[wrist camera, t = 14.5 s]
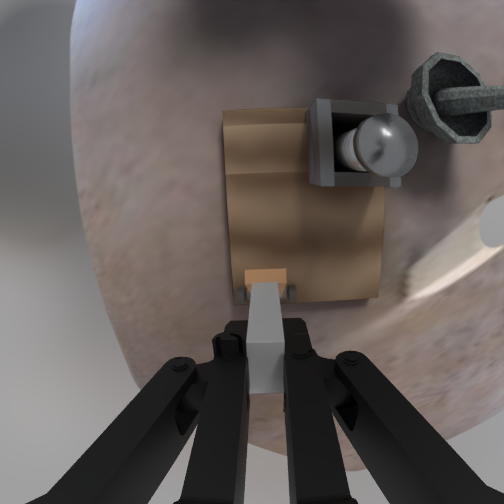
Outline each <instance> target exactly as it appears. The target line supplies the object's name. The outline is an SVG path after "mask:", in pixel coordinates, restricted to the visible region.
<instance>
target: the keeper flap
mask: <svg viewBox="0 0 504 504" xmlns="http://www.w3.org/2000/svg"><path fill="white" fill-rule="evenodd" d="M260 282H277V283H278V291H279V299H284V298H287V292H286V288H285V286H286V283H287V280H286V268H284V269H256V270H245V285H246V287H247V300H250V298H251V288H252V283H260Z"/></svg>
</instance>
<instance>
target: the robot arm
mask: <svg viewBox="0 0 504 504" xmlns="http://www.w3.org/2000/svg"><path fill="white" fill-rule="evenodd" d="M212 343H213V350H214V360H212V361H210V362H207V363H202V364H196V363H195V361H194V360H193V359H191V358H189V357H175V358H173V359H170V360H169V361H167V362H166V363H165V364H164V365H163V366H162V368H161V369H160V370H159V371H158V372H157V373H156V374H155V375H154V376H153V378H152V379H151V380H150V381H149V382H148V383H147V384H146V385H145V387H144V388H143V389H142V390H141V391H140V392H139V393H138V394H137V396H135V398H134V399H133V400H132V401H131V402H130V403H129V404H128V405H127V406H126V408H125V409H124V410H123V411H122V412H121V413H120V414H119V415H118V416H117V418H116V419H115V420H114V421H113V422H112V423H111V424H110V425H109V426H108V427H107V429H106V430H105V431H104V432H103V433H102V434H101V435H100V436H99V437H98V438H97V440H96V441H95V442H94V443H93V444H92V445H91V446H90V447H89V448H88V449H87V450H86V452H85V453H84V454H83V455H82V456H81V457H80V458H79V459H78V460H77V462H76V463H74V465H73V466H72V467H71V468H70V469H69V470H68V471H67V472H66V473H65V474H64V476H63V477H62V478H61V479H60V480H59V481H58V482H57V483H56V484H55V485H54V486H53V487H52V488H51V490H50V491H49V492H48V493H47V494H45V495H43V496H41V497H39V498H37V499H34V500H32V501H30V502H28V503H26V504H148V502H149V501H150V499H151V497H152V496H153V494H154V493H155V491H156V490H157V488H158V487H159V485H160V484H161V482H162V481H163V479H164V477H165V476H166V474H167V473H168V471H169V470H170V468H171V466H172V465H173V463H174V462H175V460H176V459H177V457H178V455H179V454H180V452H181V450H182V449H183V447H184V446H185V444H186V442H187V441H188V439H189V437H190V436H191V434H192V433H193V431H194V429H195V428H196V426H197V430H196V434H195V438H194V443H193V446H192V451H191V455H190V459H189V463H188V468H187V473H186V476H185V481H184V485H183V489H182V494H181V497H180V499H179V501H176V502H174V503H173V504H243V503H244V490H245V474H246V458H247V442H248V425H249V408H250V397H249V391H250V394H251V393H284V412H285V425H286V441H287V458H288V476H289V495H290V504H358V502H357V501H356V499H354V498H352V497H351V495H350V491H349V486H348V482H347V477H346V472H345V468H344V463H343V459H342V454H341V450H340V445H339V441H338V437H337V432H336V428H335V424H334V420H333V415H334V417H335V418H336V420H337V422H338V423H339V425H340V426H341V428H342V430H343V431H344V433H345V434H346V436H347V437H348V439H349V441H350V442H351V444H352V445H353V447H354V449H355V450H356V452H357V453H358V455H359V457H360V458H361V460H362V461H363V463H364V464H365V466H366V468H367V469H368V471H369V472H370V474H371V475H372V477H373V478H374V480H375V482H376V483H377V485H378V486H379V488H380V489H381V491H382V492H383V494H384V496H385V497H386V499H387V500H388V502H389V503H390V504H504V493H501V492H499V491H497V490H495V489H493V488H491V487H489V486H487V485H486V484H485V483H484V482H483V481H482V480H481V479H480V478H479V477H478V476H477V474H476V473H475V472H474V471H473V470H472V469H471V468H470V467H469V466H468V465H467V464H466V462H465V461H464V460H463V459H462V458H461V457H460V456H459V455H458V454H457V453H456V452H455V451H454V449H452V447H451V446H450V445H449V444H448V443H447V442H446V441H445V440H444V439H443V438H442V437H441V435H440V434H439V433H438V432H437V431H436V430H435V429H434V428H433V427H432V426H431V425H430V424H429V423H428V421H427V420H426V419H425V418H424V417H423V416H422V415H421V414H420V413H419V412H418V411H417V410H416V409H415V408H414V407H413V405H412V404H411V403H410V402H409V401H408V400H407V399H406V398H405V397H404V396H403V395H402V394H401V393H400V392H399V391H398V390H397V388H396V387H395V386H394V385H393V384H392V383H391V382H390V381H389V380H388V379H387V378H386V377H385V376H384V375H383V374H382V373H381V372H380V371H379V369H378V368H377V367H376V366H375V365H374V364H373V363H372V362H371V361H370V360H369V359H368V358H367V357H366V356H365V355H364V354H362V353H360V352H357V351H344V352H342V353H339V354H338V355H337V356H336V359H335V360H334V359H327V358H323V357H320V356H318V355H317V353H316V351H315V350H314V349H313V348H312V346H311V342H310V338H309V334H308V330H307V326H306V322H304V321H303V320H302V319H301V318H284V319H282V315H281V307H280V299H279V291H278V283H277V282H260V283H252V288H251V298H250V308H249V319H248V320H243V321H230V322H229V323H228V324H227V325H226V326H225V330H224V332H223V333H220V334H217V335H216V336H214V338H213V339H212ZM332 413H333V415H332ZM197 424H198V425H197Z"/></svg>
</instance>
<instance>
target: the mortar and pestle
mask: <svg viewBox="0 0 504 504" xmlns="http://www.w3.org/2000/svg"><path fill="white" fill-rule="evenodd" d="M406 107H407V109H408V111H409V113H410V115H411V117H412V119H413V121H414V122H415V123H416V124H417V125H419V126H420V127H421V128H423V129H424V130H425V131H431V132H432V133H433V134H434V135H436V136H437V137H438V138H439V139H440V140H442V141H443V142H447V143H469V144H473V143H479V142H480V141H481V140H482V139H483V137H484V136H485V135H486V133H487V132H488V131H489V129H490V128H491V111H493V110H501V109H504V86H485V85H484V83H483V81H482V79H481V77H480V75H479V74H478V73H477V72H476V71H475V70H474V69H473V68H472V67H471V66H470V65H469V64H468V63H466V62H465V61H464V60H463V59H462V58H461V57H460V56H456V55H450V54H445V53H439V52H437V53H436V54H434V55H432V56H431V57H430V58H429V59H428V60H426V61H425V62H424V63H423V64H422V65H421V66H420V67H419V68H418V69H417V70H416V71H415V72H414V73H413V74H412V84H411V88H410V89H409V90H408V91H407V105H406Z"/></svg>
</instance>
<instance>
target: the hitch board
mask: <svg viewBox="0 0 504 504" xmlns="http://www.w3.org/2000/svg"><path fill="white" fill-rule="evenodd" d="M222 112H223V134H224V154H225V173H226V191H227V207H228V223H229V238H230V253H231V267H232V281H233V294H234V305H250V300H247V287H246V285H245V270H256V269H284V268H286V280H287V283H286V286H285V288H286V292H287V298H284V299H280V304H281V303H303V302H322V301H338V300H353V299H366V298H378V294H379V285H380V275H381V263H382V250H383V233H384V204H385V187H401V176H400V177H392V178H391V177H381V176H376V175H373V174H371V173H369V172H368V171H360V172H334V153H333V133H332V127H349V128H357V127H358V126H359V124H360V123H361V122H363V121H364V120H365V119H367V118H370V117H372V116H374V115H376V114H379V113H392V114H395V115H398V105H393V104H384V103H375V102H365V101H353V100H338V99H316V100H315V101H314V102H313V104H312V105H311V106H310V108H262V109H243V110H228V111H222ZM398 116H399V115H398Z"/></svg>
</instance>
